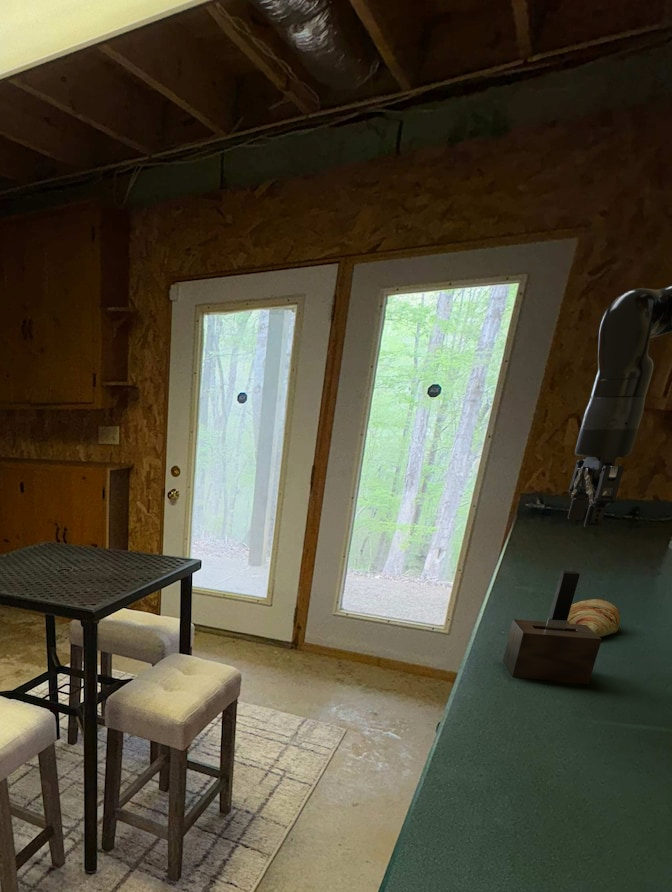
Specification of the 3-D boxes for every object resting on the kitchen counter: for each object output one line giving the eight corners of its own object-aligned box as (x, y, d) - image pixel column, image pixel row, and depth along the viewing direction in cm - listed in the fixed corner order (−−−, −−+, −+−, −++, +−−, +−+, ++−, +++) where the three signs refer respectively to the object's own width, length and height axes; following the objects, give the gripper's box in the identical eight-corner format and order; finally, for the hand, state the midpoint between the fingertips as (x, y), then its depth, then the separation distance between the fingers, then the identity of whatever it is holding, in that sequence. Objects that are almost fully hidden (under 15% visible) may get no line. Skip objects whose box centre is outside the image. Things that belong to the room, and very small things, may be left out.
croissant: (599, 658, 135) (631, 631, 130) (554, 630, 139) (583, 603, 134) (600, 629, 150) (630, 604, 145) (560, 605, 154) (587, 579, 149)
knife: (551, 671, 122) (578, 571, 115) (554, 675, 120) (582, 574, 113) (532, 669, 123) (559, 570, 116) (535, 673, 121) (562, 572, 114)
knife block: (573, 667, 123) (586, 624, 120) (588, 684, 116) (602, 639, 112) (502, 661, 127) (512, 619, 124) (512, 676, 120) (523, 632, 117)
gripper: (656, 427, 97) (625, 532, 103) (620, 424, 109) (594, 517, 115) (597, 428, 99) (570, 530, 105) (568, 425, 111) (545, 516, 117)
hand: (582, 523), depth 110 cm, fingers open, 8 cm apart
